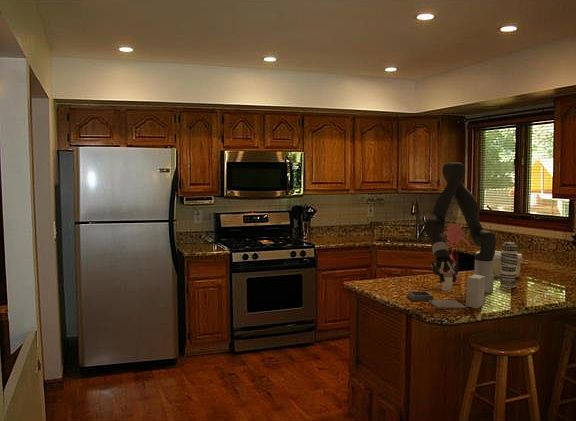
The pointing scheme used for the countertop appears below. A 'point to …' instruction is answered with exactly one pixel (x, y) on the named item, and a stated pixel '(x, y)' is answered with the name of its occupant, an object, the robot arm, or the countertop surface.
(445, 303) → the slate tile
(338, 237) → the countertop surface
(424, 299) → the grey holder
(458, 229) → the figurine
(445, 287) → the cream jar
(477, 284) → the skincare box
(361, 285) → the countertop surface
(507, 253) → the decorative candle
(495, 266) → the storage basket
